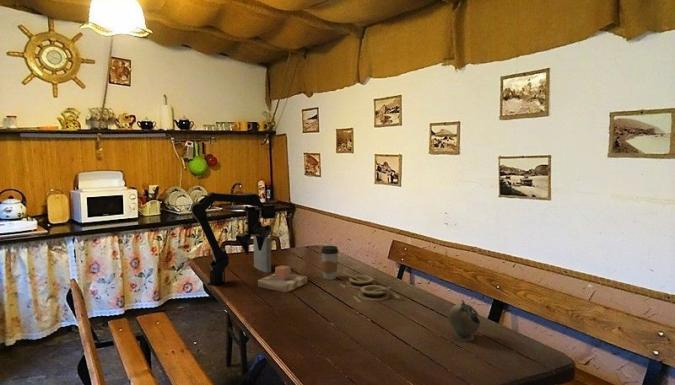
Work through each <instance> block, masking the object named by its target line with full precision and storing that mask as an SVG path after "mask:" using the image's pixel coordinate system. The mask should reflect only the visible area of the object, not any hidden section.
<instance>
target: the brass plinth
mask: <svg viewBox="0 0 675 385" xmlns="http://www.w3.org/2000/svg"><path fill="white" fill-rule="evenodd" d="M307 283H308V276H306V275H300V274H295V273H294V274H293V273H291V277H290V278H288V279H285V280H281V279H276V278H275V273H273V274H270V275H267V276H265V277H262V278H260V279H258V280H257V287H258V288H264V289H267V290H268V289H269V290H274V291H278V292H284V293H288V292H290V291H293V290H295V289H297V288H298V287H301V286H304V285H306V284H307Z"/></svg>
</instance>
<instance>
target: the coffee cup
mask: <svg viewBox="0 0 675 385" xmlns="http://www.w3.org/2000/svg"><path fill="white" fill-rule="evenodd" d="M320 250H321V252H320V253H321V267H322V268H321V269H322V277H323V279H324V280H328V281H330V280H331V281H332V280H335V279H337V270H338V258H339V248H338V247H337V246H335V245H323V246H322V247H321V249H320Z"/></svg>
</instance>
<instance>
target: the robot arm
mask: <svg viewBox="0 0 675 385" xmlns="http://www.w3.org/2000/svg"><path fill="white" fill-rule="evenodd" d="M216 202H222V203H223V202H224V203H237V204H238V203H239V204H244V205H245V206H244V207H243V208H242V211H243V212H246V221H245V222H244V224H245V225H246V226H247V227H246V230H245V232H240V233H238V234H235V241H237V242H238V243H239V244H240V245H241V247H242V249H243V251H244V253H245V254H246V255H249V253H250V252H249V251H250V243H251V241H252V240H251V239H252V238H254V236H256V239H257V244H258V249H259V250H260V251H261V249H262V246H263V243H264V240H265V239H266V238H267V237H270V235H271V233H272V226H271V225H270V224H267V225H263V222H262V221H260V218H261V219H262V220H271V219H272V220H273V219H274V220H275V219H276V217H277V216H276V215H277V212H276V209H275V204H264V203H262V201H261V197H260V195H259V194H257V193H253V192H247V193H241V194H237V193H224V192H223V193H221V192H215V191H212V192H211V191H210V192H209V193H207V195H205V196H204V197H203V198H201V199H200V200H198V201H195V202H193V203H192V204H191V205H190V207H189V210H190V212H191V213H192V215H193V217H194V218H195V219H196V220H197V222H198V223H199V225H200V228H201V230H202V232H203V234H204V236H205V238H206V241H207V243H208V245H209V247H210V250H211V253H212V258H213V259H212V261H211V262H210V263H209V265H208V266H209V268H210V269H211V270H210V271H209V281H208V282H207V285H211V286H216V287H219V286H222V285H224V284H227V283H228V281H227V280H226V272H225V270H226V268H228V266H229V264H230V260H229V259H230V257H229V256H228V253H227V250H226V249H225V248H221V246H220V245H219V242H218V241H217V238H216V235H215V234H214V231H213V229H212V226H211V225H210V222H209V219H208V214H207V209H209V208H210V207H211V206H212V205H213V204H214V203H216Z"/></svg>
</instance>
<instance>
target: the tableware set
mask: <svg viewBox="0 0 675 385" xmlns="http://www.w3.org/2000/svg"><path fill="white" fill-rule="evenodd" d="M342 274H343V275H345V276H347V277H348V281H347V283H346V285H344V284H341V283H339V286H341V287H342V288H343V289H344V288H346V286H347V287H350V288H353V289H358V290H359V289H360V291H359V292H358V293H357V295H358V297H357V296H352V298H353V299H355V300H354V301H356V303H361V302H362V301H361V300H360V299H362V300H364V301H370V302H371V301H372V302H376V301H377V302H378V301H379V302H380V301H386V300H387V299H389V298H390V293H389V292H388V290H391V289H393V287H392V286H388V287H385V286H382V285H377V284H376V281H374V280H375V278H374V277H372V276H371V275H366V274H365V275H364V274H355V275H353V274H350V273H348V272H346V271H343V273H342ZM392 295H393V296H394V297H395V298H397V299H401V297H400V296H399V295H397V294H396V293H395V295H394V294H393V293H392ZM359 298H360V299H359Z"/></svg>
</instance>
